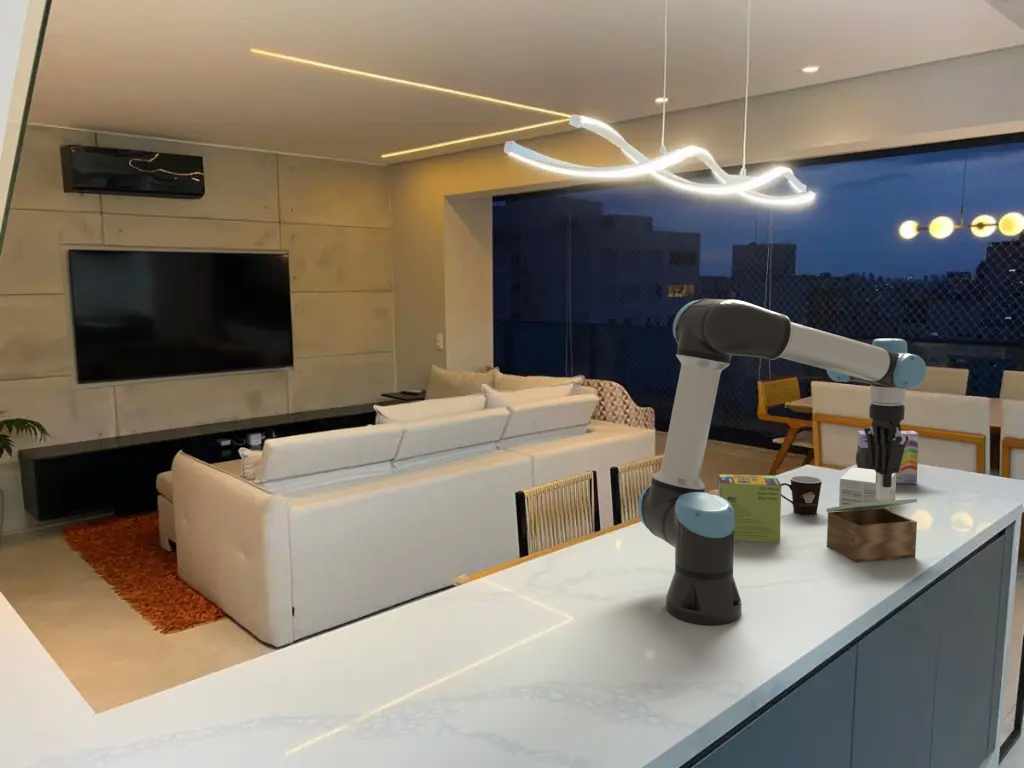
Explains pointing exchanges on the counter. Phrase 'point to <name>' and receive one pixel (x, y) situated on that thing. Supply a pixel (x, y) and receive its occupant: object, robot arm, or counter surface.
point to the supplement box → (861, 487)
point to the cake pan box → (908, 460)
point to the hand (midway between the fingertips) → (882, 498)
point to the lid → (871, 505)
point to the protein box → (753, 505)
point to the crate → (871, 534)
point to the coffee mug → (804, 494)
